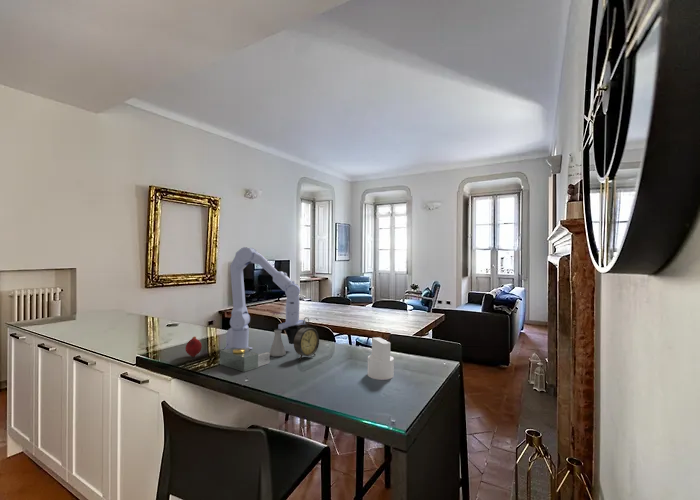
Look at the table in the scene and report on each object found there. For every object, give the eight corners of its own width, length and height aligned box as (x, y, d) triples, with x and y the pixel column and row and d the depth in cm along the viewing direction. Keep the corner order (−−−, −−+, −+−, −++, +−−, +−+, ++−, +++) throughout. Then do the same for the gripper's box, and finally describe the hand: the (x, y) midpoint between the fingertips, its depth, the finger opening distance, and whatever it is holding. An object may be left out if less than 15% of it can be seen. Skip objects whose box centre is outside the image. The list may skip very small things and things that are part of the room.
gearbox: (219, 364, 126) (220, 348, 126) (246, 356, 136) (246, 342, 136) (244, 371, 118) (244, 355, 118) (270, 363, 128) (270, 348, 128)
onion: (197, 359, 131) (197, 338, 132) (182, 358, 132) (183, 338, 132) (203, 354, 137) (204, 335, 137) (189, 354, 137) (190, 334, 138)
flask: (288, 352, 143) (288, 328, 144) (283, 357, 136) (283, 332, 136) (271, 351, 144) (272, 328, 144) (265, 356, 137) (266, 331, 137)
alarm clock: (300, 362, 130) (301, 319, 131) (290, 359, 134) (291, 318, 134) (319, 356, 139) (320, 316, 140) (310, 353, 142) (311, 314, 143)
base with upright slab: (363, 372, 120) (364, 338, 121) (386, 369, 124) (386, 336, 124) (374, 381, 112) (374, 344, 112) (398, 378, 115) (398, 342, 116)
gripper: (287, 315, 139) (286, 348, 139) (310, 311, 151) (309, 341, 151) (275, 313, 143) (274, 345, 143) (299, 309, 155) (298, 339, 155)
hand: (291, 343), depth 147 cm, fingers closed
